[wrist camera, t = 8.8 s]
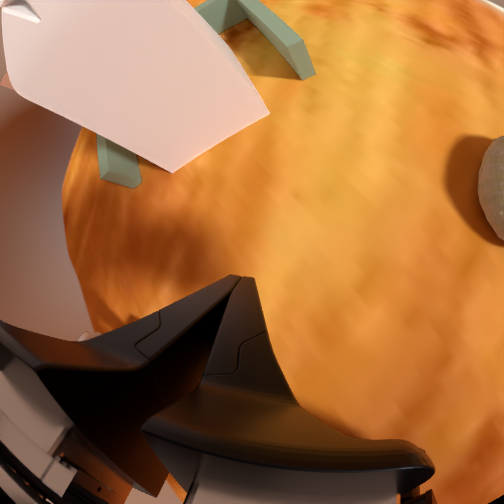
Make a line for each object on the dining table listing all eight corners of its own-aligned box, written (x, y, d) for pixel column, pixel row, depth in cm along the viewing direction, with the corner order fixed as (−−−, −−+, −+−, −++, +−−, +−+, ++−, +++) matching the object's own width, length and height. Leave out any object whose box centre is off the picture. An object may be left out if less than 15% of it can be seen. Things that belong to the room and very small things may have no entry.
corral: (315, 74, 21) (225, -97, 3) (110, 208, 30) (-30, 180, 13) (253, 9, 24) (176, -89, 7) (100, 121, 33) (1, 80, 16)
